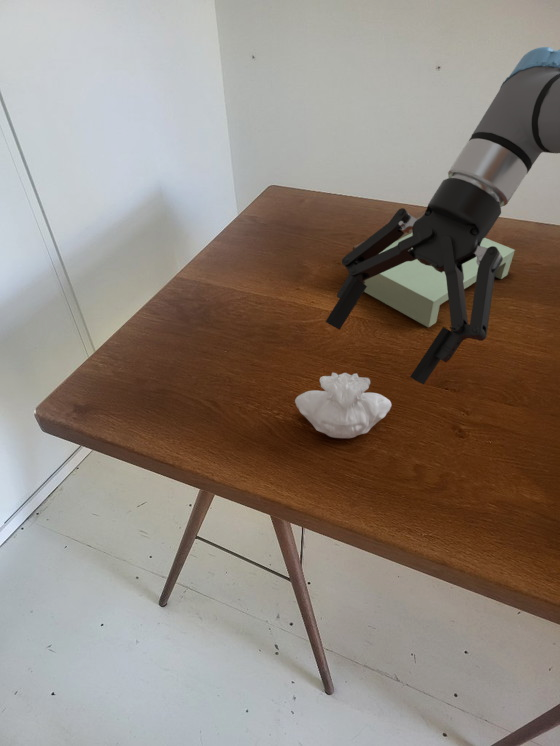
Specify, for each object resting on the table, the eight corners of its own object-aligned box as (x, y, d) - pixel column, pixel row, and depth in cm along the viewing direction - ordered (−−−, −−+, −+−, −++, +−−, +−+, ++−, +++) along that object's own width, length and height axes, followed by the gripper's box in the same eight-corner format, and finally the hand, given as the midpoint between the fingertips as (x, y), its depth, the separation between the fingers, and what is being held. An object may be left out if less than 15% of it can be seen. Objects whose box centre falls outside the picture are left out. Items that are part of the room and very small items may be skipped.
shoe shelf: (507, 275, 91) (519, 236, 86) (428, 327, 81) (436, 288, 76) (429, 240, 101) (435, 204, 96) (350, 284, 91) (352, 246, 86)
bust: (295, 437, 69) (289, 433, 58) (297, 380, 70) (292, 366, 59) (386, 441, 68) (398, 438, 57) (387, 384, 69) (399, 370, 58)
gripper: (584, 246, 55) (468, 412, 58) (401, 177, 69) (317, 314, 73) (577, 215, 49) (448, 403, 52) (377, 147, 63) (287, 298, 67)
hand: (371, 351), depth 62 cm, fingers open, 13 cm apart
